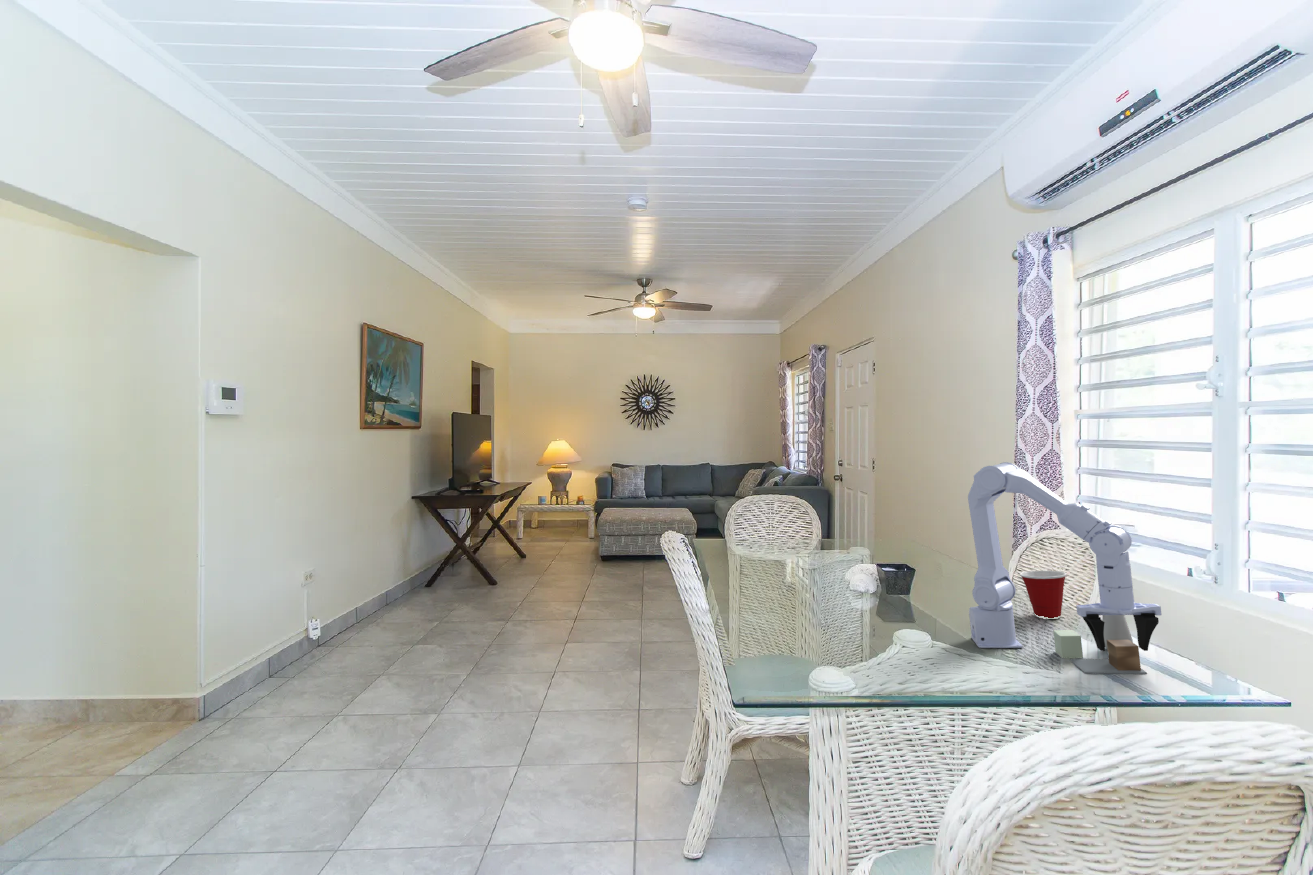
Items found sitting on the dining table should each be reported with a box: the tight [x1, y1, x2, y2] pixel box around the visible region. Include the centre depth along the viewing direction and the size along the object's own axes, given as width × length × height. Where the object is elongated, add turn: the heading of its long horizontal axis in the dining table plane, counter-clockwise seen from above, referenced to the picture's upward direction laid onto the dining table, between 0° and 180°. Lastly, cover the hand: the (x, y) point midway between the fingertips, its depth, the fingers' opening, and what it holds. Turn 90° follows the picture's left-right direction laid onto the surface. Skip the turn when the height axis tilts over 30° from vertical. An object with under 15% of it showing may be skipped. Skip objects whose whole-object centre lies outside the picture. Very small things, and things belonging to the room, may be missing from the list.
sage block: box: [1053, 629, 1084, 659], centre depth 133 cm, size 4×4×5 cm
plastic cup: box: [1019, 570, 1068, 618], centre depth 159 cm, size 11×11×12 cm
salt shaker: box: [1101, 615, 1134, 651], centre depth 133 cm, size 6×6×13 cm
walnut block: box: [1107, 640, 1142, 671], centre depth 124 cm, size 4×4×5 cm
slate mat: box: [1069, 658, 1148, 675], centre depth 125 cm, size 11×8×1 cm
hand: (1122, 649), depth 124 cm, fingers open, 7 cm apart
